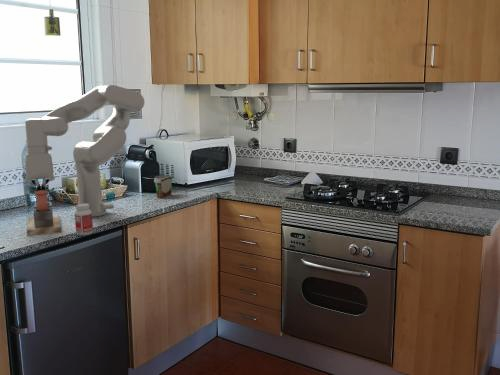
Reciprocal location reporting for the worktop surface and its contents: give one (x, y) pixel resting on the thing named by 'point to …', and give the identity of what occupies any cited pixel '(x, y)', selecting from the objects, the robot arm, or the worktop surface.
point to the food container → (163, 186)
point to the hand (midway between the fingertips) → (41, 195)
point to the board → (43, 222)
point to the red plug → (42, 200)
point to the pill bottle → (83, 220)
